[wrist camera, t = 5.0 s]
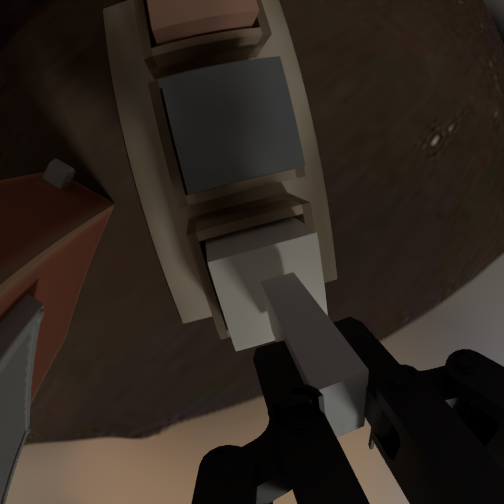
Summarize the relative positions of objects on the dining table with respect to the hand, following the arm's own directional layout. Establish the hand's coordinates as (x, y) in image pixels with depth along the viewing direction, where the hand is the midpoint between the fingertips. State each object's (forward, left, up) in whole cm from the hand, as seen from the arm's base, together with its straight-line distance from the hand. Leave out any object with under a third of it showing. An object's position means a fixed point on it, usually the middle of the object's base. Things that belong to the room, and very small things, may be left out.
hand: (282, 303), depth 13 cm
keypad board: (0, +8, -8) cm, 11 cm away
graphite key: (0, +8, -5) cm, 9 cm away
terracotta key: (0, +16, -6) cm, 17 cm away
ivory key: (0, 0, -5) cm, 5 cm away
